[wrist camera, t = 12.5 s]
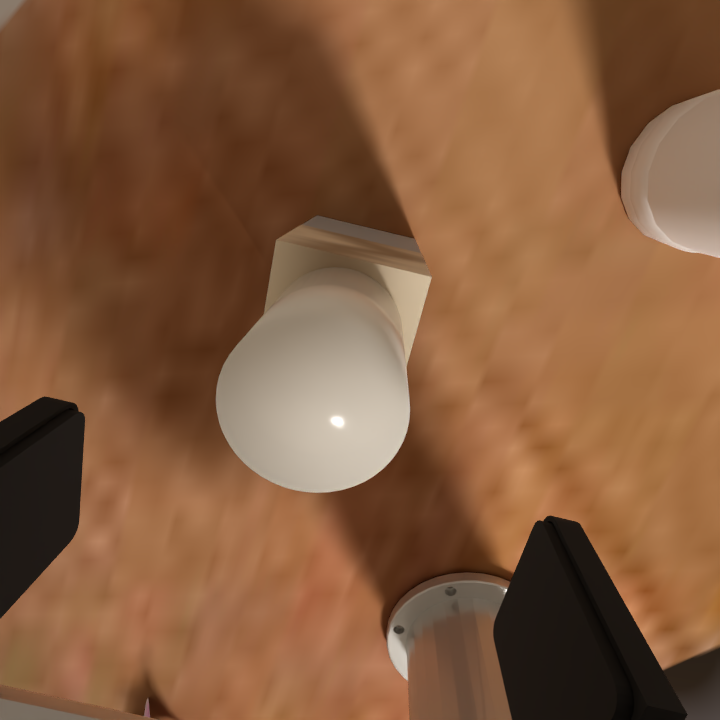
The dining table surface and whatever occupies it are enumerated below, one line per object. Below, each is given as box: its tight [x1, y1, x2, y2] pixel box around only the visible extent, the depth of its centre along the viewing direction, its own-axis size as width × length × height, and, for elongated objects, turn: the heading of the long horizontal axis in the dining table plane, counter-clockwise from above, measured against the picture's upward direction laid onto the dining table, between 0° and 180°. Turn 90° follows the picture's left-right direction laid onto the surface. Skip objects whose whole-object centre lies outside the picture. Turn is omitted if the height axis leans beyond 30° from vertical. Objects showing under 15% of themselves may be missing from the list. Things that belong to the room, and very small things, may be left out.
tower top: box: [264, 224, 432, 367], centre depth 23 cm, size 6×6×6 cm
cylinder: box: [216, 267, 410, 493], centre depth 17 cm, size 5×5×7 cm
